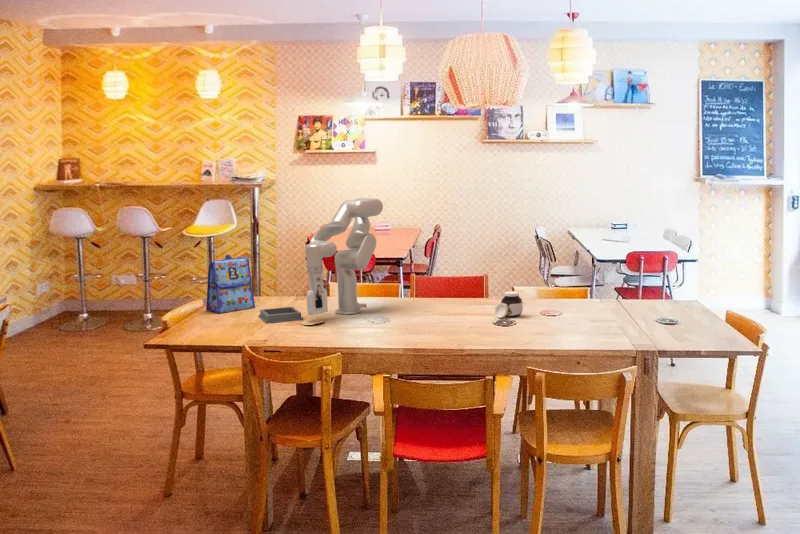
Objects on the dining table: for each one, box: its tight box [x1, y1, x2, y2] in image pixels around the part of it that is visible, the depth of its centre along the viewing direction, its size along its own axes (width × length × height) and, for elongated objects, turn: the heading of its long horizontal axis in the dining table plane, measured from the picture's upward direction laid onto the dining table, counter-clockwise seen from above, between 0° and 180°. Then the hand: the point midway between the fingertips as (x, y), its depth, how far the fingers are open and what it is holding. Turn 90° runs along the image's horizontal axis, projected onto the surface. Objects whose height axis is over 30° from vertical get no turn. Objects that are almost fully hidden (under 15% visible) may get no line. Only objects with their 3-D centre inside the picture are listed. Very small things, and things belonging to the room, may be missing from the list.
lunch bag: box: [205, 254, 256, 314], centre depth 443 cm, size 22×14×29 cm, turn 131°
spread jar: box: [494, 290, 524, 319], centre depth 411 cm, size 12×11×12 cm
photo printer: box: [305, 288, 329, 316], centre depth 412 cm, size 10×4×12 cm, turn 123°
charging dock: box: [258, 306, 304, 325], centre depth 420 cm, size 18×18×4 cm
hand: (317, 306), depth 412 cm, fingers closed on photo printer, 4 cm apart
